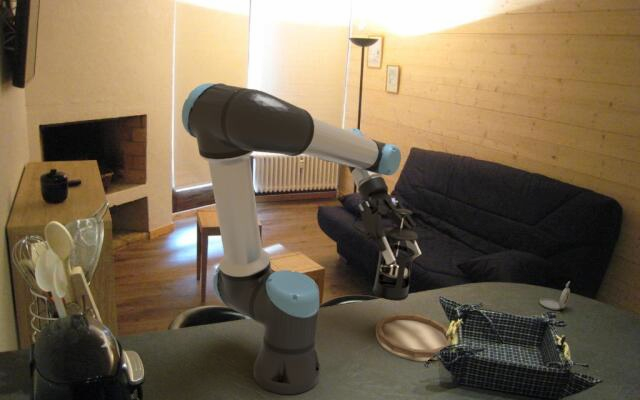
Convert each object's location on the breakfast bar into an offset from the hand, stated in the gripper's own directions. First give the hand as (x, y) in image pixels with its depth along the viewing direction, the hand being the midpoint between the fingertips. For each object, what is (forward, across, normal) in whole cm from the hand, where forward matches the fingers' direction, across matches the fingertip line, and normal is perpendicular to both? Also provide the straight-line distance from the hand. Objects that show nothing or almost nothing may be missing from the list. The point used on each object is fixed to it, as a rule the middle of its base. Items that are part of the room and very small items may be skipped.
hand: (404, 259), depth 134 cm
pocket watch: (+25, -60, -7) cm, 65 cm away
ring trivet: (+19, -4, -13) cm, 23 cm away
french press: (+5, 0, -10) cm, 11 cm away
